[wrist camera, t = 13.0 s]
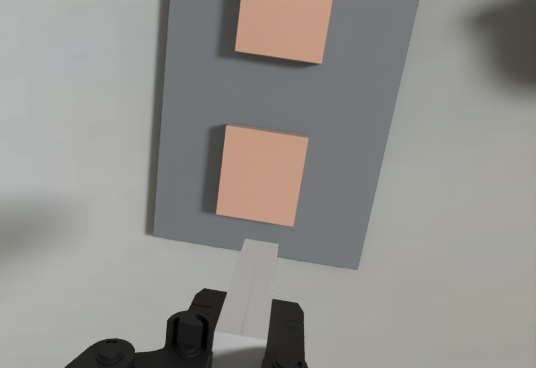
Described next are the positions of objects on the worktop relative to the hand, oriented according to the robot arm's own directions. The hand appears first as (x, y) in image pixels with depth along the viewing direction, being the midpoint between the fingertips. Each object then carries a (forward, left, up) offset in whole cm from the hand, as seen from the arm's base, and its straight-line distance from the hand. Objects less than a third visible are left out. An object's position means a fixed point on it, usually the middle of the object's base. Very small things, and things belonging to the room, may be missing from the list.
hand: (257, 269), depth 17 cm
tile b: (0, +2, -18) cm, 18 cm away
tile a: (-14, +2, -18) cm, 23 cm away
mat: (-7, -1, -20) cm, 21 cm away
